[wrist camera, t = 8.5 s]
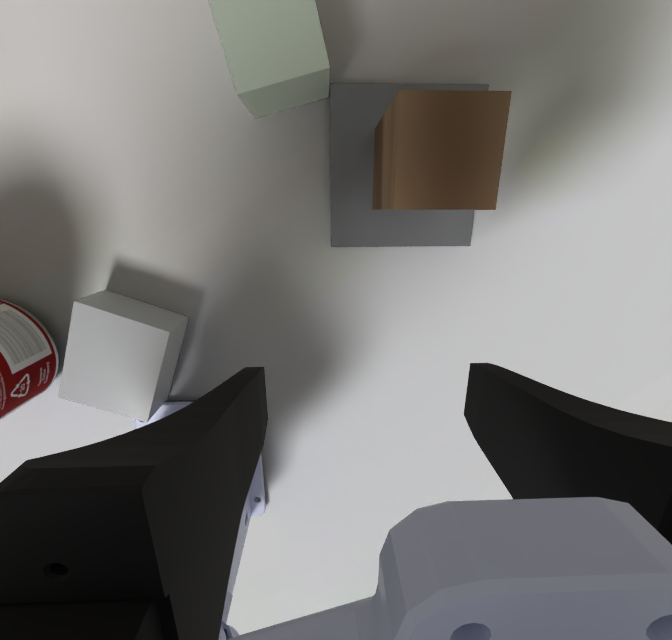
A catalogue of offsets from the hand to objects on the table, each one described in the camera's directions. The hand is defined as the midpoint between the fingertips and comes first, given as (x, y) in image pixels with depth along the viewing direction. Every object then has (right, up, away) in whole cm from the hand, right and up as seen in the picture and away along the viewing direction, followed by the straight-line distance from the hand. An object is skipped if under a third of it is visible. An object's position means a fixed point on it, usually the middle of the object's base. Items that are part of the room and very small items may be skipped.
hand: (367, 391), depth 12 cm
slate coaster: (+3, +11, +7) cm, 13 cm away
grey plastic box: (-14, +1, +10) cm, 17 cm away
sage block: (-4, +15, +5) cm, 17 cm away
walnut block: (+3, +11, +6) cm, 13 cm away
